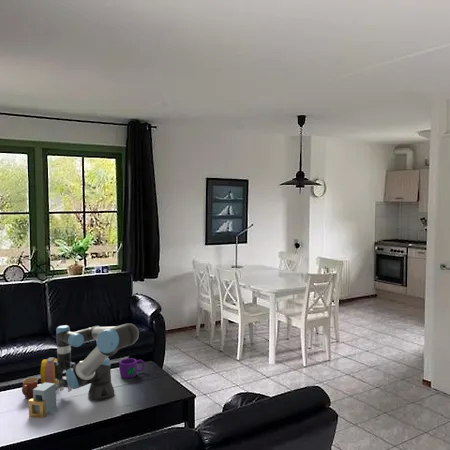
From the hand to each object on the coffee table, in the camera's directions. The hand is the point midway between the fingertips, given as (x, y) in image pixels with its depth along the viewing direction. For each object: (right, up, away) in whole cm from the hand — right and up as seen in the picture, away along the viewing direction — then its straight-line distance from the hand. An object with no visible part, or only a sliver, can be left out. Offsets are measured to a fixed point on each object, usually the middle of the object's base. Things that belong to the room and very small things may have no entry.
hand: (65, 390), depth 281 cm
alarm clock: (-14, -3, +15) cm, 21 cm away
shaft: (-2, +2, -8) cm, 9 cm away
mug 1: (-21, -5, -1) cm, 22 cm away
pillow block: (-5, -5, -18) cm, 19 cm away
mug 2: (+33, -1, +32) cm, 46 cm away
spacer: (-7, -6, -24) cm, 26 cm away
